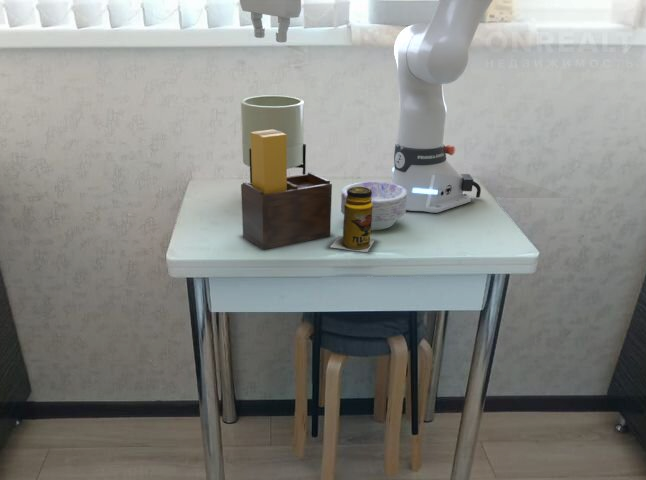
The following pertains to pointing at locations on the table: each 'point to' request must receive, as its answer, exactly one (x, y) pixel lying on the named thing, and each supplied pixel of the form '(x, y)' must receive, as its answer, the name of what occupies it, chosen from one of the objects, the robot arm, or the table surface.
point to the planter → (275, 125)
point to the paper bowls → (382, 202)
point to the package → (269, 160)
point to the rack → (287, 212)
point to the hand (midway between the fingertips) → (270, 39)
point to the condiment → (356, 221)
